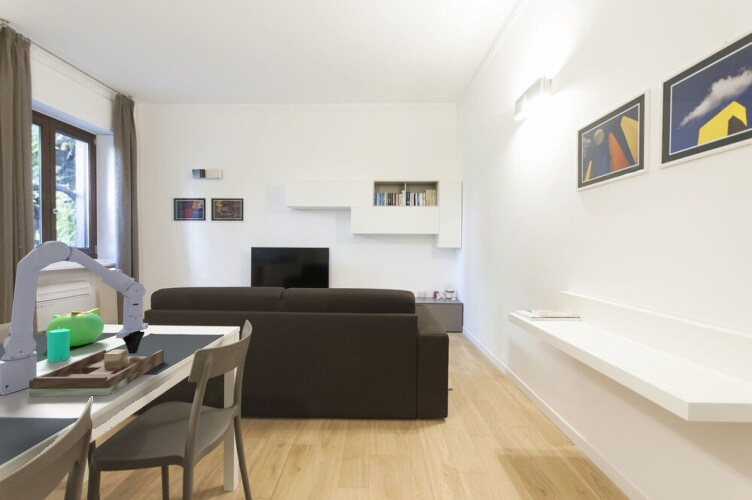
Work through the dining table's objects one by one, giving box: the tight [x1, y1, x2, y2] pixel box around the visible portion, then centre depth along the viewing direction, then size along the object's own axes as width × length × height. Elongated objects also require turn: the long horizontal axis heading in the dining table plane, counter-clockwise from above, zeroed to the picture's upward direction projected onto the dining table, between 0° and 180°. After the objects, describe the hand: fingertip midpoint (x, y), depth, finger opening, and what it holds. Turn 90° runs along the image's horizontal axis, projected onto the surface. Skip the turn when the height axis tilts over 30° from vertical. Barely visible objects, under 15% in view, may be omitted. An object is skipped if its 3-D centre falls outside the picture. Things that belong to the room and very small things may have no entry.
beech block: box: [104, 349, 129, 368], centre depth 115 cm, size 4×4×4 cm
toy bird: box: [45, 307, 105, 348], centre depth 143 cm, size 18×17×15 cm
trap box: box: [28, 348, 165, 397], centre depth 110 cm, size 28×21×5 cm
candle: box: [46, 326, 71, 363], centre depth 126 cm, size 6×6×12 cm
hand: (132, 353), depth 123 cm, fingers closed
